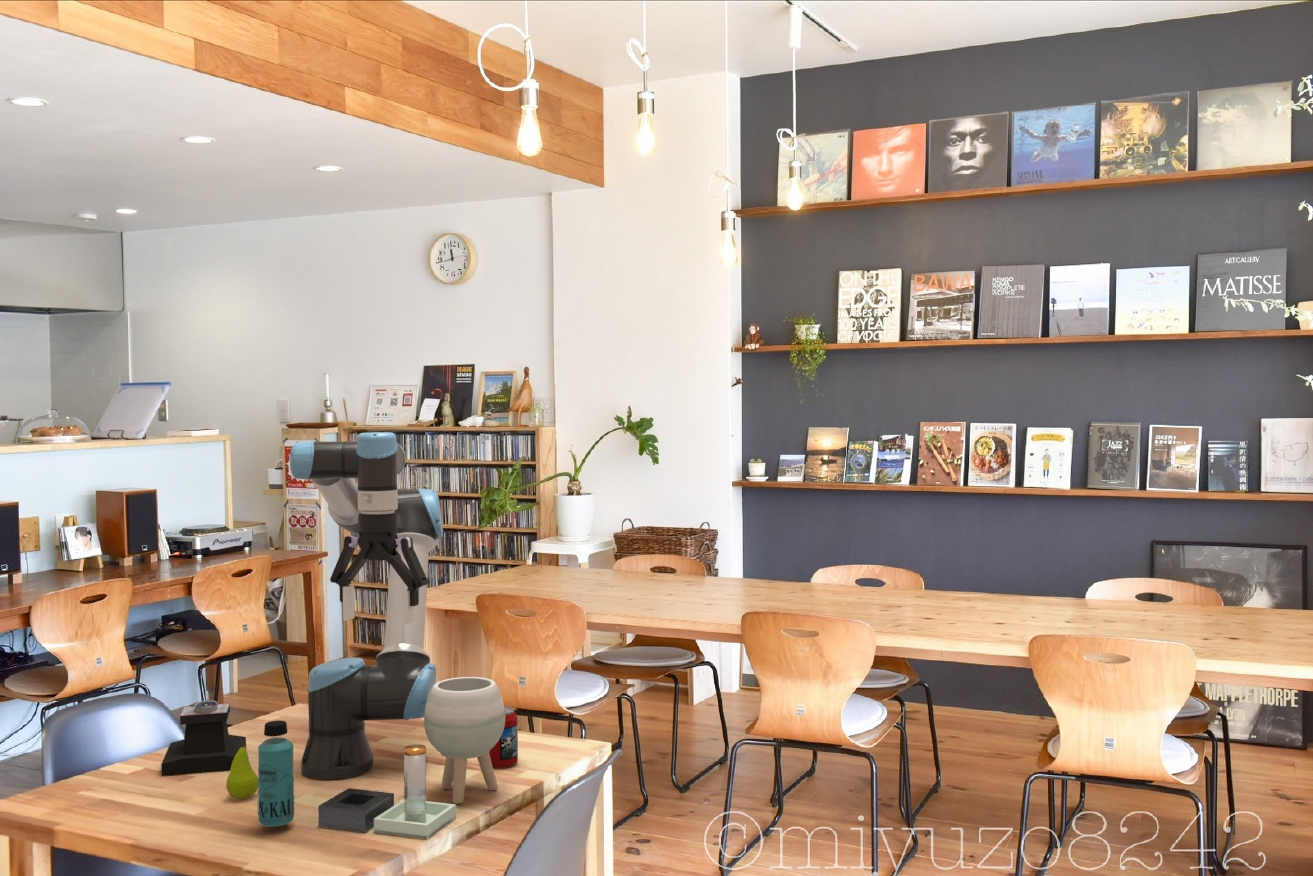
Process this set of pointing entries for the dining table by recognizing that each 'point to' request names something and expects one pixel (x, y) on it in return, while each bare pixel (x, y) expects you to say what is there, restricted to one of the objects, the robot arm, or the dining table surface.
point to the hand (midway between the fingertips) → (379, 621)
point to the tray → (396, 824)
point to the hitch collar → (354, 809)
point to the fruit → (241, 776)
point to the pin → (415, 783)
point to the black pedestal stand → (203, 741)
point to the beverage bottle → (275, 777)
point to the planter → (464, 727)
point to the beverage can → (506, 743)
